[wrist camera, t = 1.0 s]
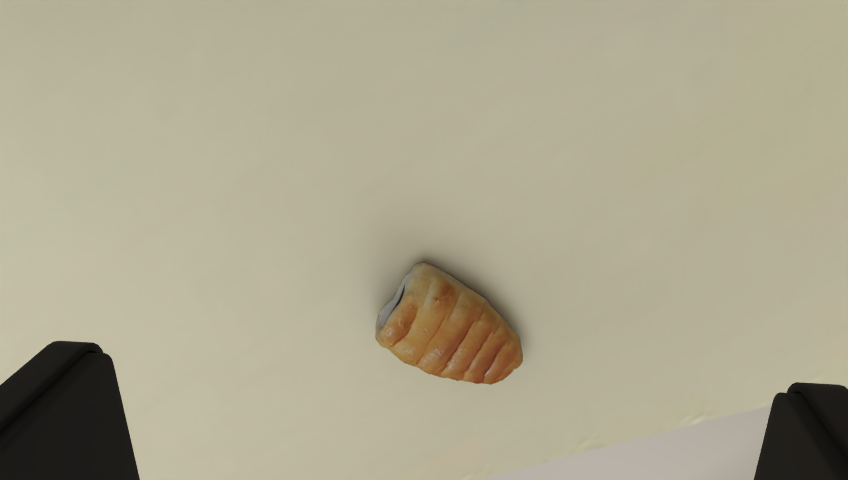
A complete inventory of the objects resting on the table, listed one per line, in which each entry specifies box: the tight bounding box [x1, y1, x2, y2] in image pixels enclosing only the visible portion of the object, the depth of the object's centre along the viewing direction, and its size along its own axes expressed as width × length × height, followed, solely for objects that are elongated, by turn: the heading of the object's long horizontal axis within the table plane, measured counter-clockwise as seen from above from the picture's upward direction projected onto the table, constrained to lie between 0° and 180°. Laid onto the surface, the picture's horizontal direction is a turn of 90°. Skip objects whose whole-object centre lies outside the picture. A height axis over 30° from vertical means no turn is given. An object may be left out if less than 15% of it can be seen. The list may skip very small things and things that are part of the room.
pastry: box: [376, 263, 523, 384], centre depth 42 cm, size 9×7×4 cm
